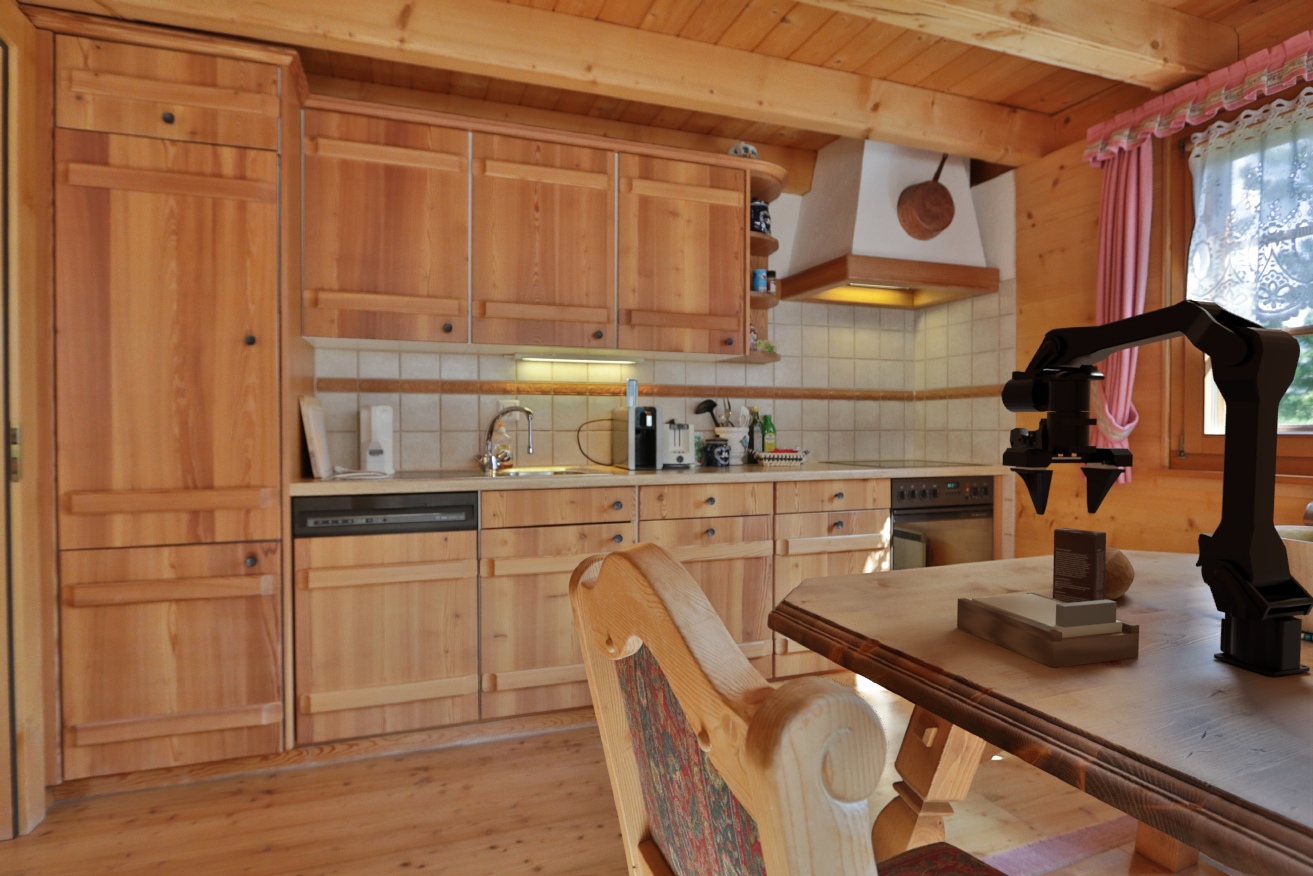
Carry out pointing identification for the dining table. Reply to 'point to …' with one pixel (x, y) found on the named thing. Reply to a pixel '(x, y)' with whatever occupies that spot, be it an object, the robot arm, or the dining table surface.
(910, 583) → the dining table surface
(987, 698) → the dining table surface
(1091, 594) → the box
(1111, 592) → the bread roll
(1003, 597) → the cover plate
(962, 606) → the walnut box
